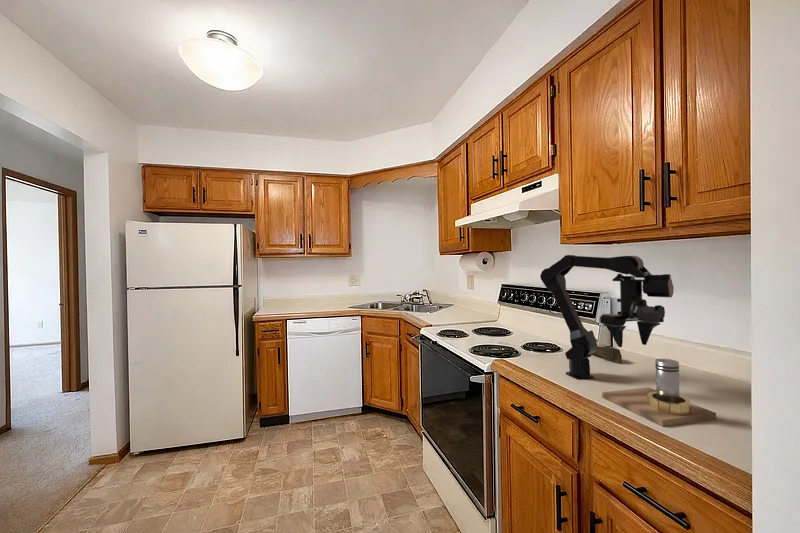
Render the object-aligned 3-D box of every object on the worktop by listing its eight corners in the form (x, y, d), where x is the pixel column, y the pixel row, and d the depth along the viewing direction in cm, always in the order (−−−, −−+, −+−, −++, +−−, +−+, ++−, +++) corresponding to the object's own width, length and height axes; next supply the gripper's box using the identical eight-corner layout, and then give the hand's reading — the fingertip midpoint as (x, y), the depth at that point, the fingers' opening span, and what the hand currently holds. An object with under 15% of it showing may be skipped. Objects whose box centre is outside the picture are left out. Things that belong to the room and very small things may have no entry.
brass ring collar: (639, 402, 95) (639, 393, 95) (666, 399, 97) (666, 390, 97) (670, 416, 86) (670, 406, 86) (699, 412, 88) (699, 402, 88)
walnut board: (602, 397, 103) (602, 392, 103) (648, 392, 106) (648, 387, 106) (662, 426, 85) (662, 420, 85) (716, 419, 88) (716, 412, 88)
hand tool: (574, 351, 157) (574, 338, 157) (584, 350, 158) (584, 337, 158) (613, 365, 135) (613, 350, 135) (624, 364, 135) (624, 350, 135)
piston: (653, 402, 95) (652, 358, 94) (674, 404, 93) (673, 359, 93) (661, 410, 90) (660, 363, 90) (683, 412, 89) (682, 364, 88)
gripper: (628, 299, 100) (629, 354, 100) (680, 296, 105) (681, 349, 105) (598, 296, 111) (599, 346, 111) (646, 293, 115) (647, 341, 116)
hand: (632, 345), depth 110 cm, fingers open, 9 cm apart
